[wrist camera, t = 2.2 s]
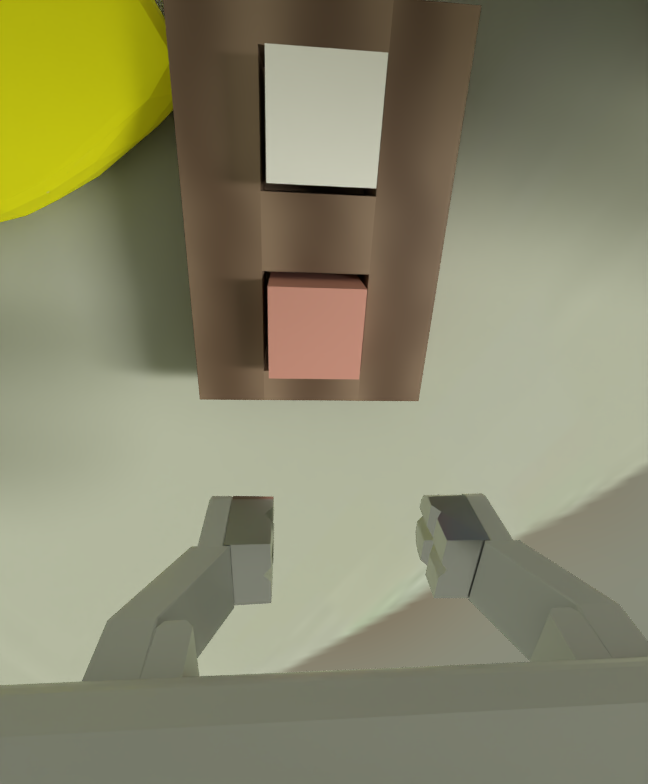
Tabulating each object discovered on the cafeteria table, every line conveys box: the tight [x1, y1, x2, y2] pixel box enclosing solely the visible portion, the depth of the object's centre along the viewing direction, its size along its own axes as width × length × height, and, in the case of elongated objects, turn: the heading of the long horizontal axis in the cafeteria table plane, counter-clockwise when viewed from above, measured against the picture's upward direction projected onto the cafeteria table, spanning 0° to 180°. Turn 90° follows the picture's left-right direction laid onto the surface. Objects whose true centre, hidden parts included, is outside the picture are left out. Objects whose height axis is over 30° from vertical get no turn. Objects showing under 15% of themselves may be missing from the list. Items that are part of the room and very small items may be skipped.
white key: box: [265, 43, 388, 188], centre depth 21 cm, size 5×5×4 cm
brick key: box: [268, 272, 367, 379], centre depth 25 cm, size 5×5×4 cm
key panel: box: [163, 0, 481, 401], centre depth 25 cm, size 14×20×5 cm
